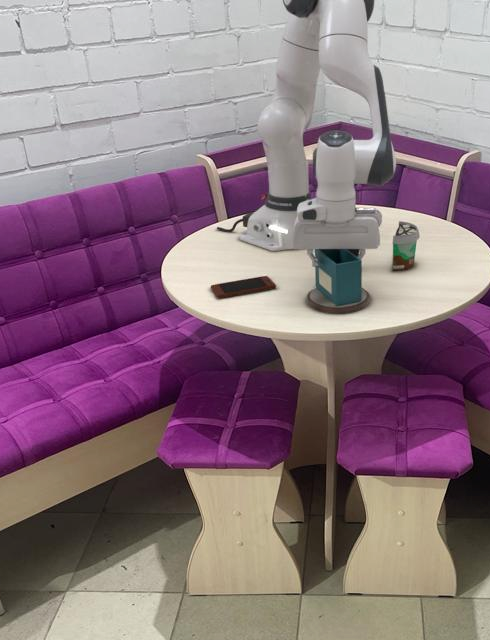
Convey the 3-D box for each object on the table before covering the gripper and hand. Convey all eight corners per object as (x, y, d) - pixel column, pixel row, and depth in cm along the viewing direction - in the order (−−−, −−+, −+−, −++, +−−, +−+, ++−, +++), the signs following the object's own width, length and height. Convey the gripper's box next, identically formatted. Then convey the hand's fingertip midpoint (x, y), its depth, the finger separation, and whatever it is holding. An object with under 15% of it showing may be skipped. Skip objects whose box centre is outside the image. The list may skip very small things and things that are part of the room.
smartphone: (276, 284, 185) (217, 295, 180) (276, 288, 185) (217, 298, 180) (267, 274, 190) (209, 284, 186) (267, 278, 191) (210, 288, 186)
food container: (415, 275, 192) (417, 237, 187) (391, 273, 193) (392, 236, 188) (420, 257, 202) (422, 221, 197) (398, 256, 203) (399, 220, 198)
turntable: (294, 305, 177) (294, 299, 176) (328, 283, 188) (328, 277, 187) (349, 319, 170) (349, 313, 170) (380, 295, 181) (380, 289, 180)
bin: (339, 282, 184) (339, 243, 179) (361, 300, 175) (361, 260, 170) (315, 287, 182) (314, 248, 177) (336, 306, 172) (335, 265, 167)
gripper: (381, 203, 170) (379, 260, 178) (291, 203, 170) (293, 260, 178) (383, 212, 165) (381, 270, 172) (290, 212, 165) (292, 271, 172)
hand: (336, 265), depth 175 cm, fingers open, 8 cm apart
